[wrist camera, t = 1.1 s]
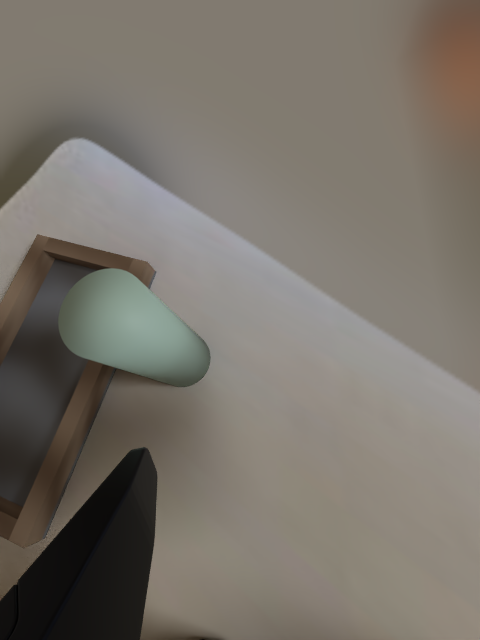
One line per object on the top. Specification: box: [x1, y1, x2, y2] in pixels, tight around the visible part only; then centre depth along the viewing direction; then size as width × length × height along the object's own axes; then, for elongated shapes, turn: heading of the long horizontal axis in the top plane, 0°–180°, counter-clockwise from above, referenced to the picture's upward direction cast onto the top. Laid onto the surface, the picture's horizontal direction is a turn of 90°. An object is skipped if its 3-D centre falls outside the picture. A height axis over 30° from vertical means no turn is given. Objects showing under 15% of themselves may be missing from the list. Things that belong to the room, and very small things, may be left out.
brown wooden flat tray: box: [0, 235, 156, 548], centre depth 24 cm, size 20×10×2 cm, turn 162°
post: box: [58, 268, 210, 387], centre depth 19 cm, size 4×4×11 cm
